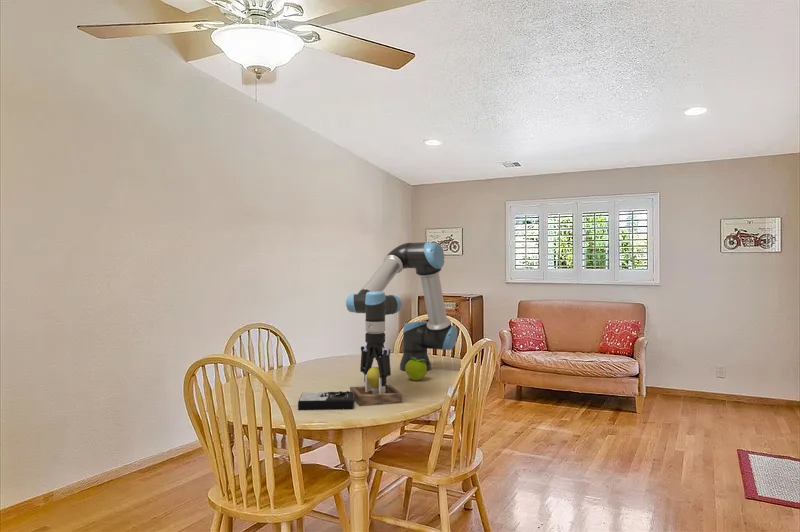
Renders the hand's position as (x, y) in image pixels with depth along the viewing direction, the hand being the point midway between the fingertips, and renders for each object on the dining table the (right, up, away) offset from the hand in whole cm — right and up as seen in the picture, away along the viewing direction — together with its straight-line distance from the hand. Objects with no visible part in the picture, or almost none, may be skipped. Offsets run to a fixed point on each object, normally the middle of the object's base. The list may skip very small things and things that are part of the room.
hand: (375, 392), depth 205 cm
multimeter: (-17, -3, -9) cm, 20 cm away
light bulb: (0, 0, 0) cm, 1 cm away
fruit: (+16, -3, +34) cm, 38 cm away
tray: (0, -2, 0) cm, 2 cm away
